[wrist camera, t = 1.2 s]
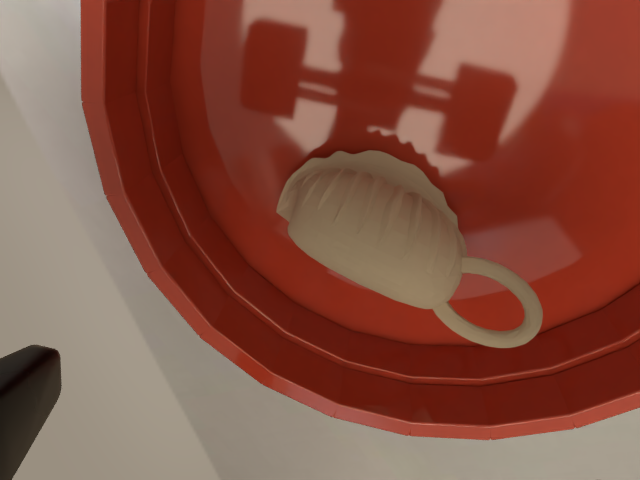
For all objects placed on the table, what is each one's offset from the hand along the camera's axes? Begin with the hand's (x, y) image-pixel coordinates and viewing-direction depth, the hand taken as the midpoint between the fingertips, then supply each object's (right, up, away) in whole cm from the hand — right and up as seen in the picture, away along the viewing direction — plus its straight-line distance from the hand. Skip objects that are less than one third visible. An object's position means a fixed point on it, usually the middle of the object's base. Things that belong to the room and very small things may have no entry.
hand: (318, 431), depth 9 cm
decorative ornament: (+3, +4, +11) cm, 12 cm away
